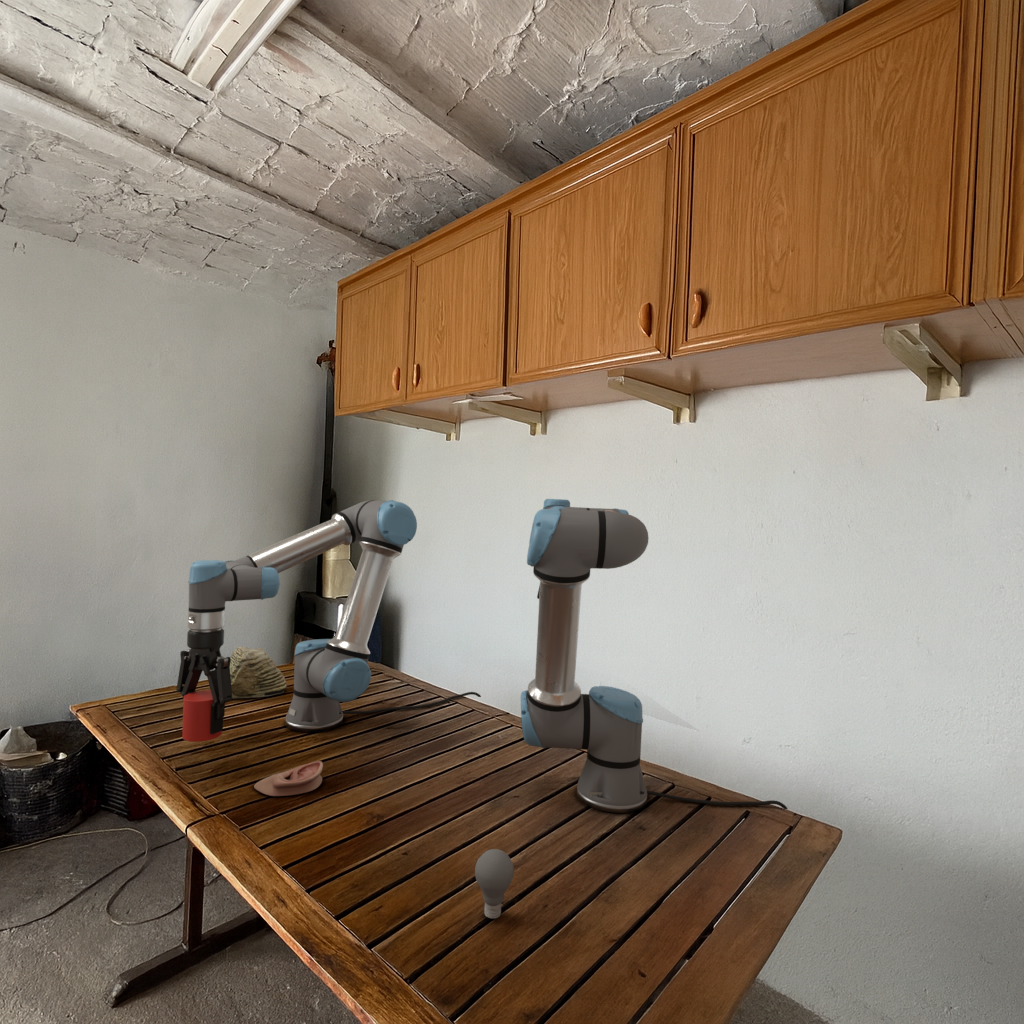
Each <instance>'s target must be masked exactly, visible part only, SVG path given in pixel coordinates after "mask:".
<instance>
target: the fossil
mask: <svg viewBox="0 0 1024 1024" xmlns="http://www.w3.org/2000/svg"><path fill="white" fill-rule="evenodd" d="M229 657H230V658H231V662H230V677H231V687H232V698H233V699H250V698H264V697H271V696H275V695H281V694H284V693H285V691H286V689H287V687H288V686H287V680H286V678H285V676H284V674H283V673H282V672H281V669H279V668H278V667H277V665H276V663H275V662H274V660H273V659H272V658H271V657H270V656H269V655H268V654H267V653H266V652H265V650H264V649H263V648H260V647H258V648H251V647H247V646H246V647H245V646H238V647H237V648H236V649H235V650H233V651H232V653H231V656H229Z"/></svg>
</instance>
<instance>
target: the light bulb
mask: <svg viewBox="0 0 1024 1024" xmlns="http://www.w3.org/2000/svg"><path fill="white" fill-rule="evenodd" d="M514 874H515V867H514V863H513V861H512V859H511V857H510V856H509V855H508V854H507V853H506V852H505V851H503V850H501V849H498V848H491V849H487V850H486V851H484V852H483V853H482V854H481V855H480V856H479V857H478V859H477V861H476V863H475V867H474V876H475V880H476V882H477V884H478V886H479V888H480V890H481V893H482V899H483V901H484V910H483V911H484V912H483V914H484V916H485V917H487V918H489V919H498V918H499V917H501V914H502V903H503V901H504V898H505V893H506V891H507V890H508V888H509V887H510V885H511V883H512V882H513V879H514V876H515V875H514Z"/></svg>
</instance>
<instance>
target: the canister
mask: <svg viewBox="0 0 1024 1024" xmlns="http://www.w3.org/2000/svg"><path fill="white" fill-rule="evenodd" d="M195 691H196V692H192V693H189V694H187V695H185V696H184V699H182V735H181V738H182V739H183V741H187V742H191V743H192V742H193V743H200V742H208V741H212V740H214V739H217V738H219V737H220V736H221V735H222V734H223V731H220V732H217V733H215V734H210V721H211V704H213V703H214V701H213V697H212V693H211V690H210V689H206V690H205V689H204V690H195Z"/></svg>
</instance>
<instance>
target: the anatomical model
mask: <svg viewBox="0 0 1024 1024" xmlns="http://www.w3.org/2000/svg"><path fill="white" fill-rule="evenodd" d="M323 768H324V763H323V761H321V760H318V761H312V762H309V763H306V764H303V765H299V766H297V767H294V768H291V769H288V770H286V771H283V772H278V773H275V774H272V775H269V776H267V777H265V778H263V779H260V780H259V781H257V782H256V783H255V784H254V785H253V788H254V789H255V790H256V791H257V792H259V793H261V794H264V795H266V796H268V797H269V796H270V797H284V796H295V795H301V794H305V793H308V792H312V791H315V790H316V789H317V788H319V787H320V786H321V784H322V783H323V777H322V775H321V774H322V771H323Z"/></svg>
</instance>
